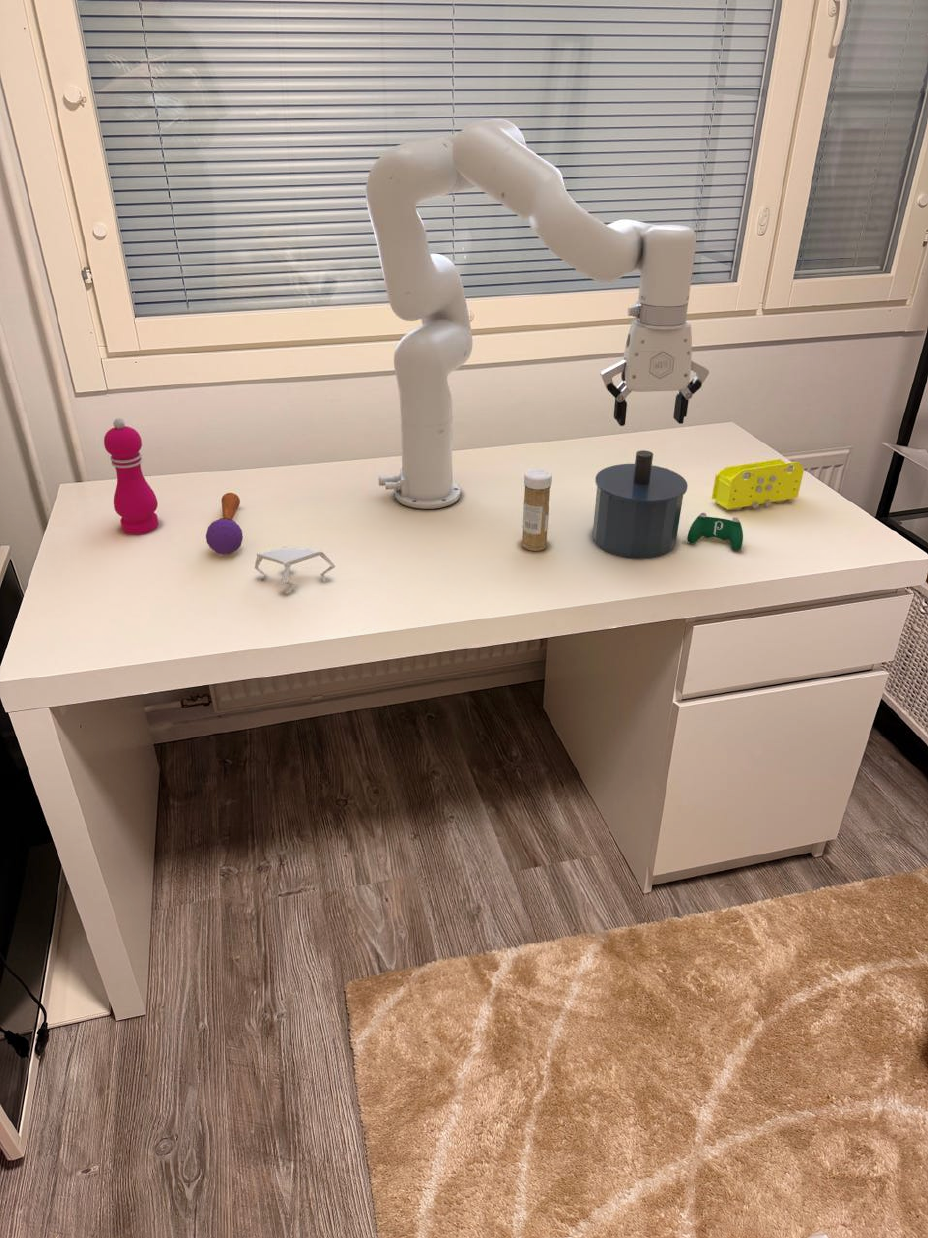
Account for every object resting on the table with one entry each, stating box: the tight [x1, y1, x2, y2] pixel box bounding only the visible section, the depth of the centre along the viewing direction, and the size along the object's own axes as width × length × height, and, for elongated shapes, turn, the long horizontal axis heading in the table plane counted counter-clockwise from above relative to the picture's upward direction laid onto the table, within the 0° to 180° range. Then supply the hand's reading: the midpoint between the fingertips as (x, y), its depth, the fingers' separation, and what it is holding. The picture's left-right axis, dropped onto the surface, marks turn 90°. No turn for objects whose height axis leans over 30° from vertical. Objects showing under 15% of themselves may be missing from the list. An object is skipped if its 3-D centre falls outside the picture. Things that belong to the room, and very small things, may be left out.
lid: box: [594, 449, 689, 503], centre depth 148 cm, size 15×15×6 cm
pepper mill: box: [103, 417, 160, 535], centre depth 152 cm, size 7×7×20 cm
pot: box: [592, 486, 684, 559], centre depth 152 cm, size 14×15×10 cm
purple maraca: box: [205, 492, 244, 555], centre depth 154 cm, size 6×6×20 cm
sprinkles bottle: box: [521, 468, 553, 552], centre depth 149 cm, size 5×5×13 cm
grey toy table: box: [254, 546, 336, 595], centre depth 140 cm, size 12×8×5 cm
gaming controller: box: [686, 512, 744, 552], centre depth 154 cm, size 9×4×6 cm
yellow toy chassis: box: [711, 458, 805, 511], centre depth 166 cm, size 16×6×8 cm, turn 110°
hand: (649, 421), depth 144 cm, fingers open, 9 cm apart
